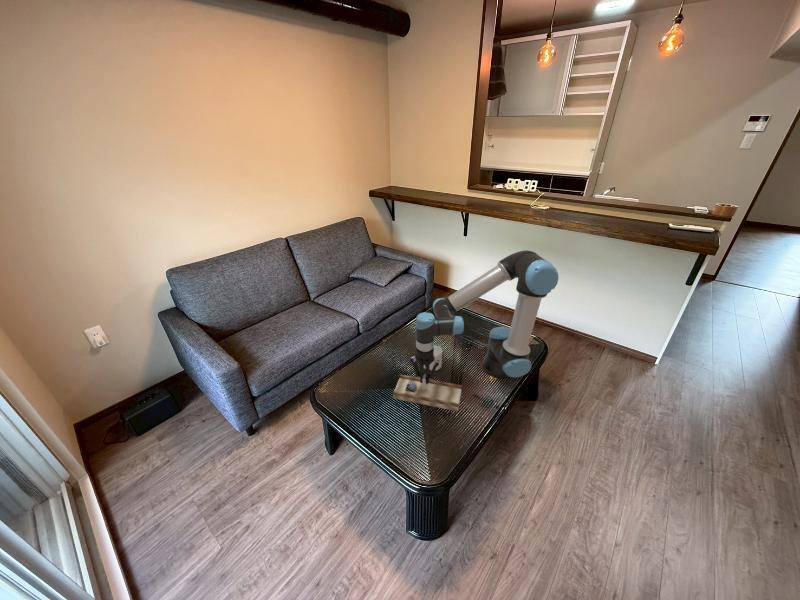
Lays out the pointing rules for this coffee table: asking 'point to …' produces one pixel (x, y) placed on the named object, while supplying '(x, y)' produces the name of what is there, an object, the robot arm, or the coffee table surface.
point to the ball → (413, 386)
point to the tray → (429, 393)
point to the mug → (437, 356)
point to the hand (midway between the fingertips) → (424, 387)
